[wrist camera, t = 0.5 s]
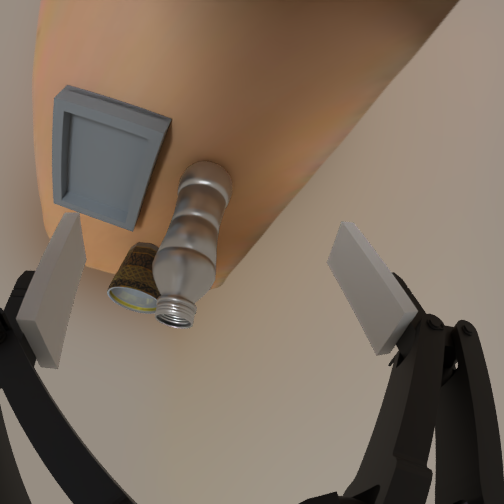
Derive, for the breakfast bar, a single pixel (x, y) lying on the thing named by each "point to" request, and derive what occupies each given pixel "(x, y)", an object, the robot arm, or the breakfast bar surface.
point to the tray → (103, 155)
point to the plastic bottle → (191, 243)
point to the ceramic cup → (136, 280)
